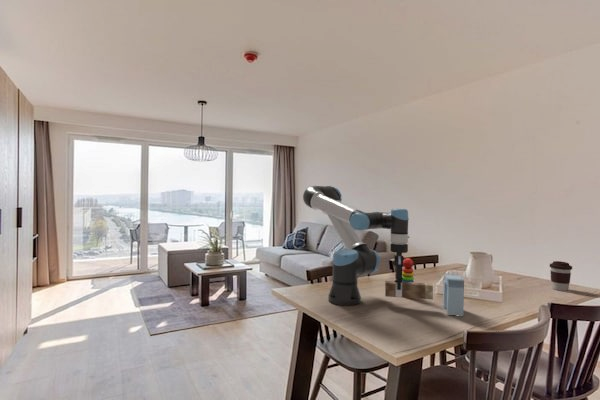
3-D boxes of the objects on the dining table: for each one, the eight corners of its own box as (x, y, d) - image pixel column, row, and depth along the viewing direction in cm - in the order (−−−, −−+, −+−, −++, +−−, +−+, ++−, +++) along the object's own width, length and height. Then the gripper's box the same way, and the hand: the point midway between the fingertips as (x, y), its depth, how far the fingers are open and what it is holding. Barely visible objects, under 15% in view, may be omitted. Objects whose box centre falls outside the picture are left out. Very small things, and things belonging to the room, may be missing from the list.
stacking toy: (396, 296, 170) (397, 258, 169) (400, 292, 177) (401, 256, 176) (413, 298, 166) (414, 260, 166) (416, 294, 173) (417, 257, 173)
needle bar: (385, 296, 153) (385, 282, 153) (385, 293, 157) (385, 280, 157) (432, 299, 148) (432, 285, 148) (431, 296, 152) (431, 283, 152)
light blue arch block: (447, 315, 143) (448, 279, 143) (442, 306, 155) (443, 273, 155) (463, 316, 142) (464, 280, 142) (457, 307, 154) (458, 274, 153)
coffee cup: (576, 292, 183) (577, 264, 183) (557, 291, 183) (558, 263, 183) (562, 287, 193) (563, 260, 193) (544, 286, 193) (545, 260, 193)
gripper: (409, 246, 144) (408, 301, 145) (406, 241, 161) (406, 290, 161) (390, 245, 146) (390, 300, 146) (390, 240, 163) (389, 289, 163)
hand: (398, 295), depth 154 cm, fingers closed on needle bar, 4 cm apart
